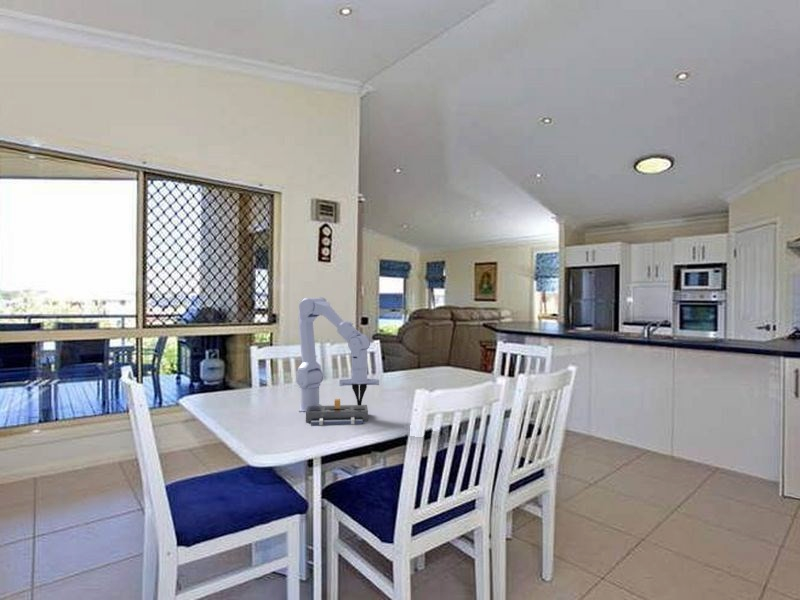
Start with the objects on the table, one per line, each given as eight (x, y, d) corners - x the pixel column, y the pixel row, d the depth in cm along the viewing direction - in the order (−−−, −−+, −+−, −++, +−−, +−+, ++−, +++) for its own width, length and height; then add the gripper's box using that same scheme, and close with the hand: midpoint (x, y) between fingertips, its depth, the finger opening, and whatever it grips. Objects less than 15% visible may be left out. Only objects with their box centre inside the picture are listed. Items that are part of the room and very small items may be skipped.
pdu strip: (308, 415, 176) (308, 405, 176) (366, 414, 179) (367, 404, 179) (305, 422, 168) (305, 412, 167) (367, 420, 170) (368, 410, 170)
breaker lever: (334, 407, 174) (334, 398, 174) (340, 406, 174) (340, 398, 174) (334, 408, 172) (334, 400, 172) (340, 408, 172) (340, 400, 172)
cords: (311, 422, 168) (311, 417, 168) (362, 421, 170) (362, 416, 169) (310, 425, 164) (310, 420, 164) (362, 424, 166) (362, 419, 166)
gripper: (339, 370, 169) (339, 408, 169) (379, 369, 170) (379, 407, 171) (339, 366, 176) (339, 403, 176) (378, 366, 177) (378, 402, 178)
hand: (359, 404), depth 174 cm, fingers closed
